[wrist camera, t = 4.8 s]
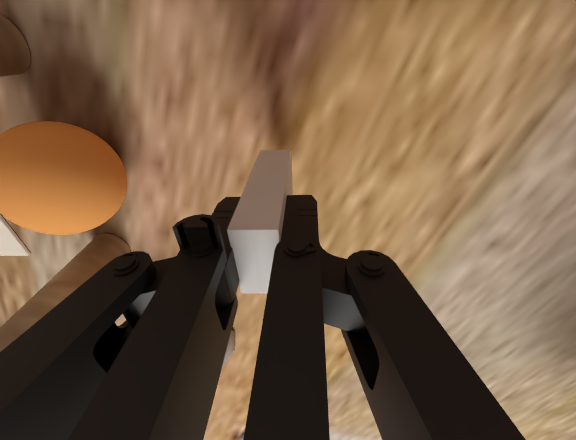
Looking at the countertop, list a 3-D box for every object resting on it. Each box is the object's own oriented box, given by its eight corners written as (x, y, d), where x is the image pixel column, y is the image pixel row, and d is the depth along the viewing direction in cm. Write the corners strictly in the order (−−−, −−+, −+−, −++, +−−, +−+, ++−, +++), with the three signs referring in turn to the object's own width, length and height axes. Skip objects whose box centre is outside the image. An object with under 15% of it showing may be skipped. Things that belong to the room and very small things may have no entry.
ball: (31, 107, 15) (125, 107, 14) (81, 196, 18) (159, 199, 17) (-101, 145, 10) (27, 148, 9) (-2, 254, 13) (99, 262, 13)
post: (122, 233, 19) (4, 358, 12) (135, 260, 21) (39, 386, 13) (88, 233, 19) (-49, 356, 12) (103, 260, 21) (-10, 384, 13)
